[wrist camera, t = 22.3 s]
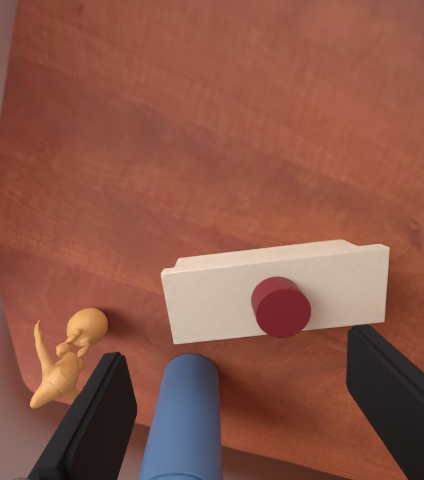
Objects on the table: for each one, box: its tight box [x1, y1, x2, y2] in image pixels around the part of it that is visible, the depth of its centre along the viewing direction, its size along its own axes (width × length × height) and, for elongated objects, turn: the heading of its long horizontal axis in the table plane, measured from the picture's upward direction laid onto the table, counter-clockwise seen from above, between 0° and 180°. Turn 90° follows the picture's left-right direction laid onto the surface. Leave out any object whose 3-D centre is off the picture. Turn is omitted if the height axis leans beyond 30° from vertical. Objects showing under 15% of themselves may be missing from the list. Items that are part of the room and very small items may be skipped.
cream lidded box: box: [161, 239, 390, 344], centre depth 23 cm, size 19×7×6 cm, turn 97°
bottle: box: [138, 354, 222, 480], centre depth 21 cm, size 7×7×18 cm
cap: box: [251, 276, 311, 338], centre depth 19 cm, size 4×4×2 cm
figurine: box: [30, 308, 108, 408], centre depth 21 cm, size 8×6×12 cm
